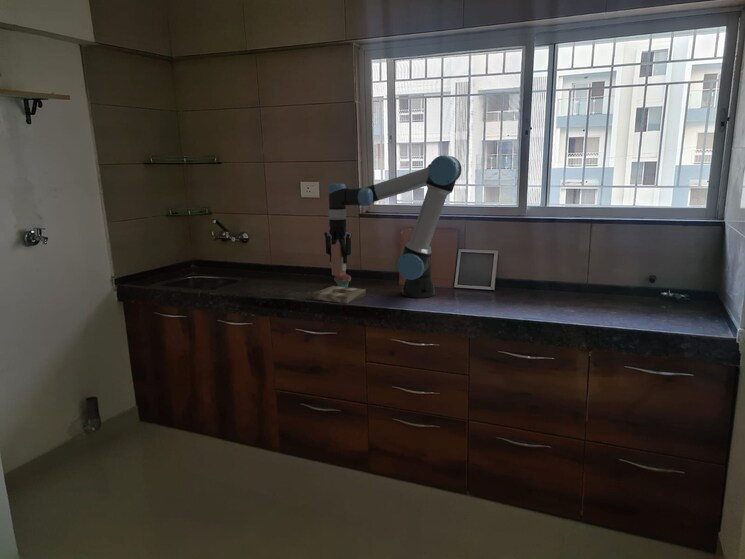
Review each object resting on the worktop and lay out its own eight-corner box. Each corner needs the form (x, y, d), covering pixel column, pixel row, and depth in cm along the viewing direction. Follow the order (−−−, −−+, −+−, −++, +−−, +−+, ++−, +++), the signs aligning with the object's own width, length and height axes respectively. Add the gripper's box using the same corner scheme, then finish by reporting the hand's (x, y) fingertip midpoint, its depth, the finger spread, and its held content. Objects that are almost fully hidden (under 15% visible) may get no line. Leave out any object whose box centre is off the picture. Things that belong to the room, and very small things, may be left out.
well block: (365, 295, 243) (365, 289, 242) (347, 303, 229) (347, 296, 229) (333, 291, 252) (333, 285, 251) (313, 299, 238) (313, 292, 237)
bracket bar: (345, 274, 239) (345, 243, 236) (340, 275, 235) (339, 245, 232) (337, 273, 241) (336, 243, 238) (331, 275, 238) (331, 244, 235)
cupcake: (352, 285, 264) (351, 262, 262) (350, 289, 256) (349, 265, 254) (335, 285, 265) (334, 262, 263) (332, 289, 257) (331, 265, 254)
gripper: (358, 218, 232) (359, 270, 237) (326, 217, 241) (327, 267, 245) (349, 220, 226) (350, 273, 231) (316, 218, 234) (318, 269, 239)
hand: (338, 269), depth 238 cm, fingers closed on bracket bar, 4 cm apart
